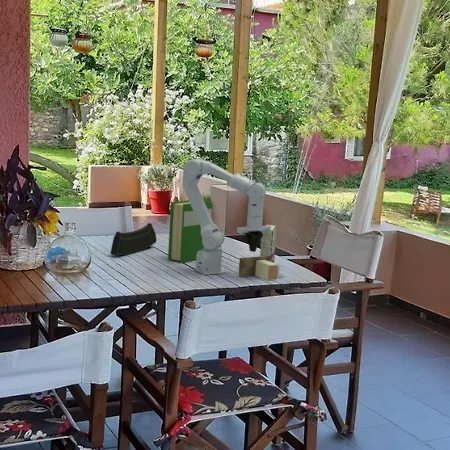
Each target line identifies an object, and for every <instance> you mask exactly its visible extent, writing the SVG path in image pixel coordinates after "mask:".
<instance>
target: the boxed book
mask: <svg viewBox="0 0 450 450" xmlns="http://www.w3.org/2000/svg"><path fill="white" fill-rule="evenodd" d="M278 266H279V265H278V263H275V262H274V263H272V262H269V261H266V260H258V261H256V271H255V275H254V276H255V277H257V278H260V279H263V280H265V281H268V282H269V281H276V280H278V278H277V270H278Z"/></svg>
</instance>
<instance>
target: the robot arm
mask: <svg viewBox="0 0 450 450" xmlns="http://www.w3.org/2000/svg"><path fill="white" fill-rule="evenodd" d="M182 174H183V175H182V189H183V190H184V192H185V195H186V197H187V200H189V202H190V204H191V206H192V209H193V211H194V213H195V216H196V218H197V220H198V222H199V225H200V227H201V236H202V244H203V246H204V249H203V250H200V251H198V252H197V255H196V261H195V268H194V271H195V272H198V273H199V274H202V275H206V276H207V275H218V274H226V271H225V270H222V258H223V247H222V245H223V244H224V242H225V235H224V233H223V232H222V231H220V229H219V227H218V226H217V225H216V223H214V221H213V219H212V215H211V216H210V214H209V211H208V209H207V207H206V205H205V202H204V200H205V199H204V198H203V196H202V193H201V191H200V189H199V187H198V184H199V182H200V179H201V178H202V176H203V175H213V176H215V177H217V178H219V179H221V180H223V181H225V182H228V183H229V184H230V187H231V188H233V189H234V190H236V191H238V192H240V193H242V194H245V195H247V196H248V203H247V204H248V205H247V217H246V218H247V219H246V220H247V221H246V226H240V227H237V228H236V233H237V234H243V233H244V236H245V238H246V241H247V243H248V248H249V252H252V253H253V252H254V253H255V252H256V251H257V248H258V245H259V244H260V242H261V238H262V236H263V233H261V232H267V231H268V232H271V227H270V226H265V225H263V221H264V220H263V218H264V206H265V205H264V201H265V200H264V199H265V197H264V196H265V195H266V192H267V190H266V187H265V185H264V184H262V183H261V182H256V180H255V179H250V178H249V177H246V176H245V174H244V173H241V174H240V173H235V174H232V173H231V172H229V171H227V170H225V169H224V168H222V167H220V166H218V165H216V164H215V163H213V162H211V161H209V160H205V159H204V158H201V157H200V158H199V157H198V158H195V159H193V158H192V159H189V160H187V161H186V163H184V166H183V168H182Z"/></svg>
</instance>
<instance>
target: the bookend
mask: <svg viewBox="0 0 450 450" xmlns="http://www.w3.org/2000/svg"><path fill="white" fill-rule="evenodd" d="M283 278H286V277H285V275H281V274H280V266H279V265H278V270H277V279H283Z"/></svg>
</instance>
